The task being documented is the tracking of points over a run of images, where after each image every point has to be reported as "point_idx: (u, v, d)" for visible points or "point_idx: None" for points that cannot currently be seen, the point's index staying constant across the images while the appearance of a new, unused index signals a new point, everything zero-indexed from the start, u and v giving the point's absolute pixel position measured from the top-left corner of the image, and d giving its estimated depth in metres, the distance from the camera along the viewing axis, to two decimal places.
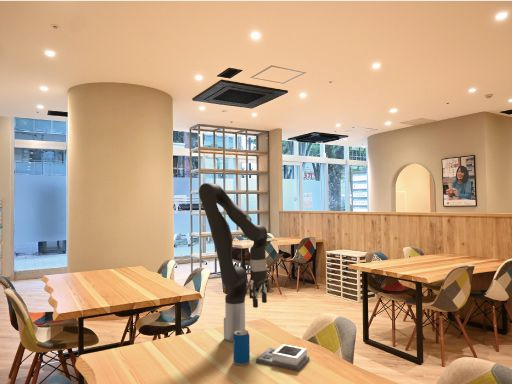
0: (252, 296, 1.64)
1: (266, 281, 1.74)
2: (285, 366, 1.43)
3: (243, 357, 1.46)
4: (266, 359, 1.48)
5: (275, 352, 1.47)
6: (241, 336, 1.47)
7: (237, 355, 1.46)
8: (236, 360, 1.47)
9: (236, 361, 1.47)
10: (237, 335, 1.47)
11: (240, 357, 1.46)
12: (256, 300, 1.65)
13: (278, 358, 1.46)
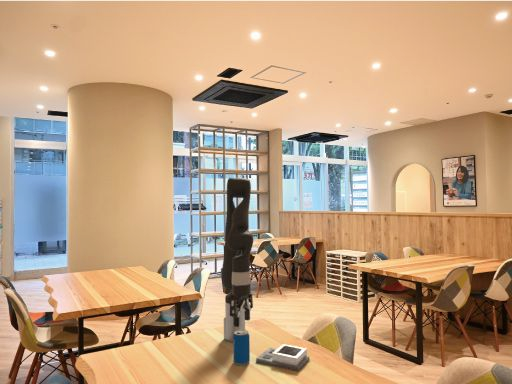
0: (233, 314, 1.44)
1: (250, 296, 1.54)
2: (285, 366, 1.43)
3: (243, 357, 1.46)
4: (266, 359, 1.48)
5: (275, 352, 1.47)
6: (241, 336, 1.47)
7: (237, 355, 1.46)
8: (236, 360, 1.47)
9: (236, 361, 1.47)
10: (237, 335, 1.47)
11: (240, 357, 1.46)
12: (237, 318, 1.45)
13: (278, 358, 1.46)
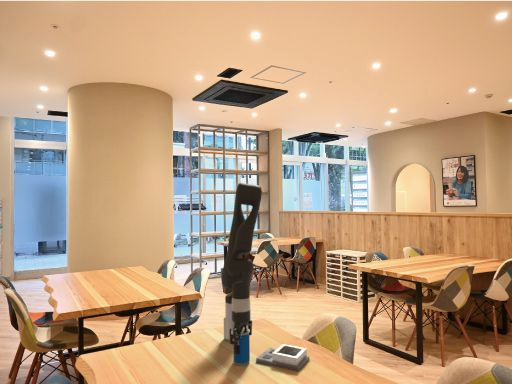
0: (233, 342, 1.44)
1: (250, 322, 1.54)
2: (285, 366, 1.43)
3: (243, 357, 1.46)
4: (266, 359, 1.48)
5: (275, 352, 1.47)
6: None
7: (237, 355, 1.46)
8: (236, 360, 1.47)
9: (236, 361, 1.47)
10: (237, 335, 1.47)
11: (240, 357, 1.46)
12: (238, 346, 1.45)
13: (278, 358, 1.46)
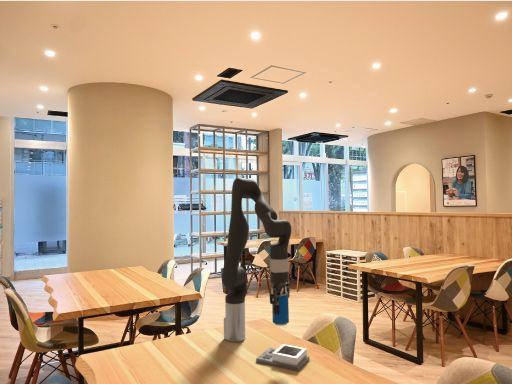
0: (273, 301, 1.44)
1: (287, 284, 1.54)
2: (285, 366, 1.43)
3: (282, 318, 1.46)
4: (266, 359, 1.48)
5: (275, 352, 1.47)
6: None
7: (277, 316, 1.46)
8: (276, 321, 1.46)
9: (276, 322, 1.46)
10: None
11: (279, 317, 1.46)
12: (277, 306, 1.45)
13: (278, 358, 1.46)
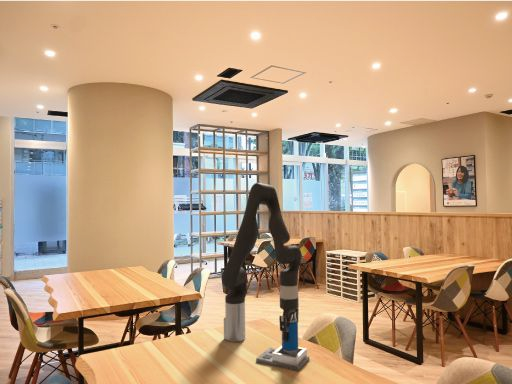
0: (283, 329, 1.44)
1: (296, 310, 1.54)
2: (285, 366, 1.43)
3: (292, 344, 1.46)
4: (266, 359, 1.48)
5: (275, 352, 1.47)
6: None
7: (287, 342, 1.46)
8: (285, 347, 1.47)
9: (285, 348, 1.47)
10: None
11: (289, 344, 1.46)
12: (287, 333, 1.45)
13: (278, 358, 1.46)
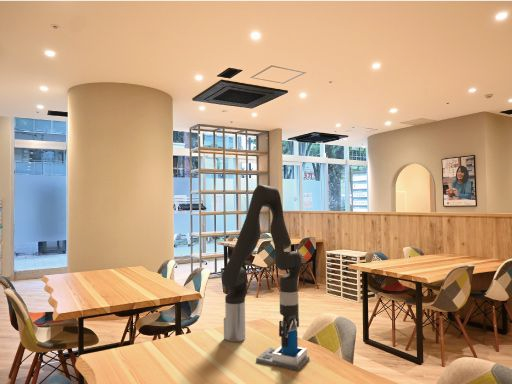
0: (282, 334, 1.43)
1: (296, 315, 1.54)
2: (285, 366, 1.43)
3: (292, 353, 1.46)
4: (266, 359, 1.48)
5: (275, 352, 1.47)
6: (290, 332, 1.46)
7: (286, 351, 1.46)
8: None
9: None
10: None
11: (289, 353, 1.46)
12: (286, 338, 1.45)
13: (278, 358, 1.46)
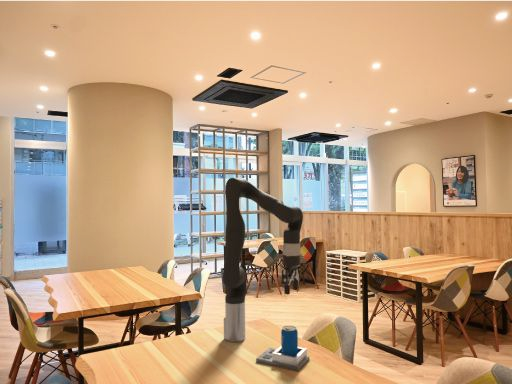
0: (284, 282, 1.52)
1: (298, 267, 1.63)
2: (285, 366, 1.43)
3: (292, 353, 1.46)
4: (266, 359, 1.48)
5: (275, 352, 1.47)
6: (290, 332, 1.46)
7: (286, 351, 1.46)
8: None
9: None
10: (286, 331, 1.47)
11: (289, 353, 1.46)
12: (288, 286, 1.54)
13: (278, 358, 1.46)
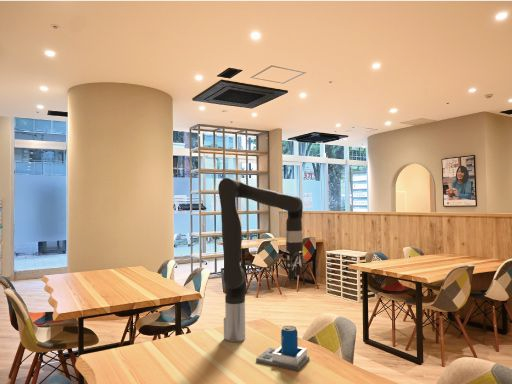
0: (288, 267, 1.62)
1: (301, 254, 1.73)
2: (285, 366, 1.43)
3: (292, 353, 1.46)
4: (266, 359, 1.48)
5: (275, 352, 1.47)
6: (290, 332, 1.46)
7: (286, 351, 1.46)
8: None
9: None
10: (286, 331, 1.47)
11: (289, 353, 1.46)
12: (292, 271, 1.63)
13: (278, 358, 1.46)
